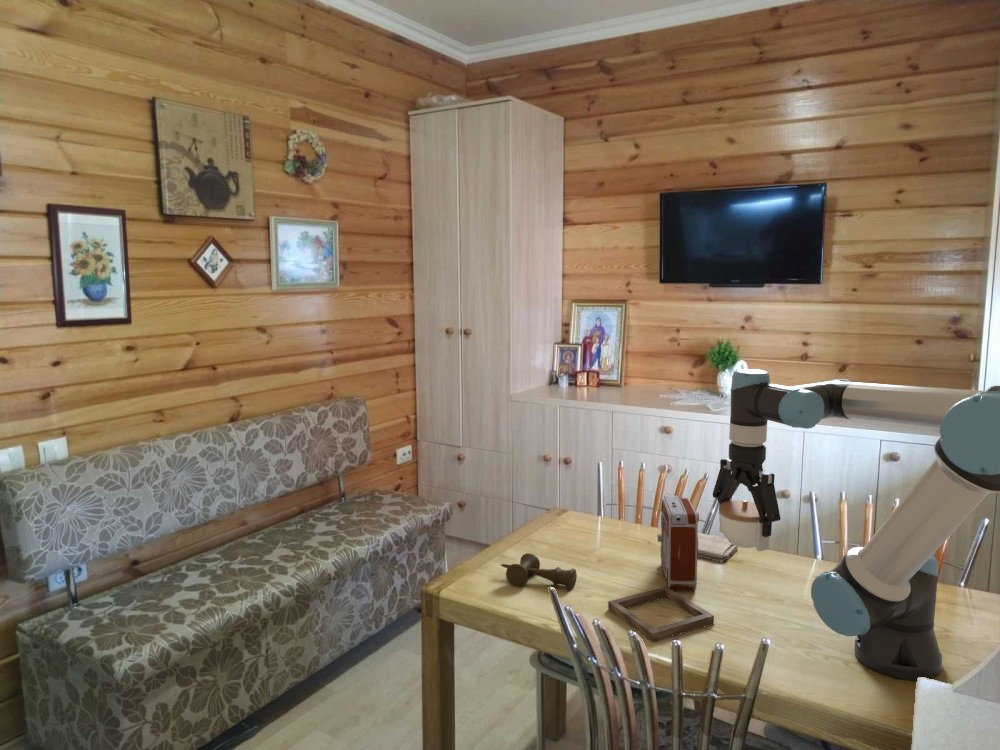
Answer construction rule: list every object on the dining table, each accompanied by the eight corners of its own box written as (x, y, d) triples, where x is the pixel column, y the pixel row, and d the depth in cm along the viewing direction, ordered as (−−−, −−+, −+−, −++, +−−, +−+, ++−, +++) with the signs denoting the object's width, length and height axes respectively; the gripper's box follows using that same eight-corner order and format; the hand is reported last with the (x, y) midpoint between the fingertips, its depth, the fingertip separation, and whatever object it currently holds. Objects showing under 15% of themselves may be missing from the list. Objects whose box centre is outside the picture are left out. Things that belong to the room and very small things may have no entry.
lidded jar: (716, 548, 154) (718, 506, 152) (718, 530, 164) (720, 491, 162) (770, 554, 150) (772, 512, 149) (768, 535, 160) (770, 495, 159)
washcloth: (725, 565, 190) (725, 553, 189) (661, 551, 200) (661, 540, 199) (739, 550, 199) (739, 539, 199) (677, 537, 209) (677, 527, 209)
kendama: (567, 599, 173) (492, 583, 181) (580, 583, 182) (508, 569, 190) (568, 575, 172) (493, 560, 180) (581, 561, 181) (508, 547, 189)
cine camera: (689, 561, 191) (690, 488, 188) (702, 594, 172) (703, 513, 169) (654, 560, 192) (654, 488, 189) (663, 593, 173) (663, 513, 170)
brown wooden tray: (713, 624, 158) (713, 615, 158) (652, 642, 151) (652, 633, 151) (665, 594, 173) (666, 586, 172) (608, 609, 166) (608, 601, 165)
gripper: (803, 453, 144) (797, 556, 148) (724, 428, 165) (720, 519, 169) (774, 458, 141) (769, 563, 145) (698, 432, 162) (695, 525, 166)
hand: (743, 540), depth 157 cm, fingers closed on lidded jar, 11 cm apart
